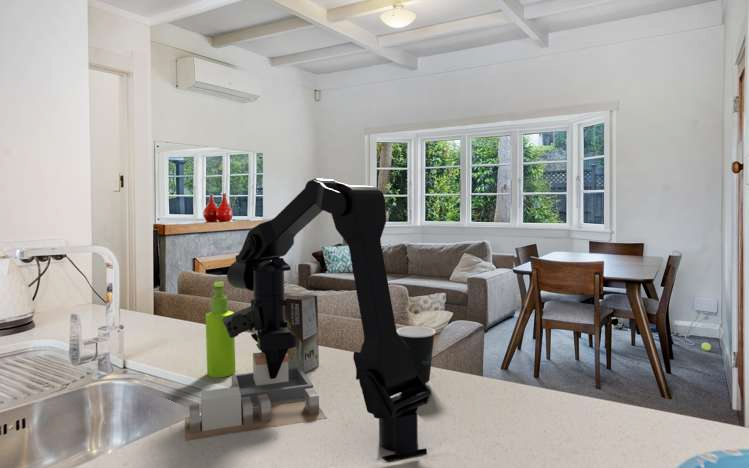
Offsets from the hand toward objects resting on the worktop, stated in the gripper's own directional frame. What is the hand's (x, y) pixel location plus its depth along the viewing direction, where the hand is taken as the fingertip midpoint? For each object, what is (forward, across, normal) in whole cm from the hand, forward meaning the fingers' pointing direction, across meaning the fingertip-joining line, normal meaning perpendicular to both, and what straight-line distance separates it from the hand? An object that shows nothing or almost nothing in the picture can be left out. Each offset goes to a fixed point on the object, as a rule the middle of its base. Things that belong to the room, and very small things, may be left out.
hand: (271, 375), depth 99 cm
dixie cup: (+4, +5, +28) cm, 29 cm away
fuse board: (+4, +12, -4) cm, 13 cm away
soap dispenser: (+4, -17, -8) cm, 19 cm away
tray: (+4, 0, 0) cm, 4 cm away
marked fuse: (+1, 0, 0) cm, 1 cm away
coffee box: (+4, -16, +8) cm, 18 cm away
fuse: (+3, +12, -10) cm, 16 cm away
